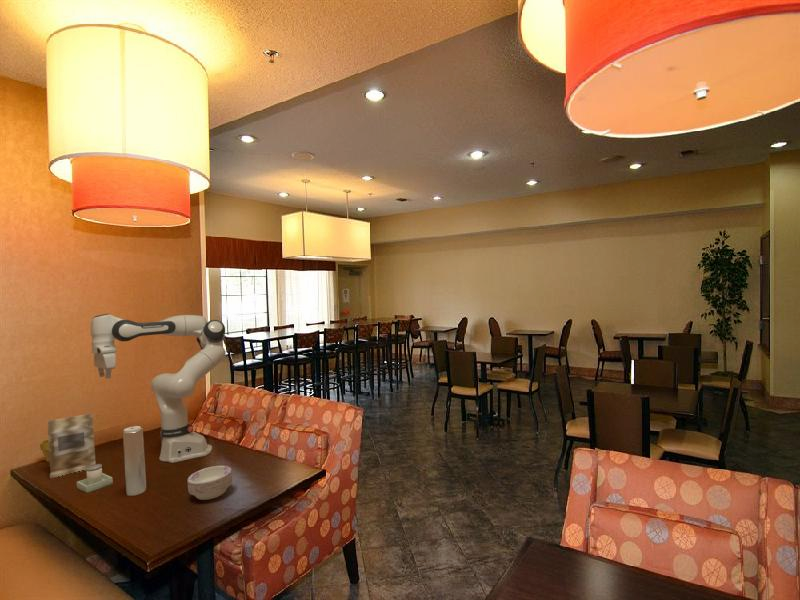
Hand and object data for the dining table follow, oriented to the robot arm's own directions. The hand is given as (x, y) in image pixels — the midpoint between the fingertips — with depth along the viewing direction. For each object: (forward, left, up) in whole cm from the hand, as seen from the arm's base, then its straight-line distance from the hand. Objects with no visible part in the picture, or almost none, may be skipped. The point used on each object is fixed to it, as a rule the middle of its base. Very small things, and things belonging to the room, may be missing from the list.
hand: (105, 377), depth 197 cm
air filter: (-22, +46, -39) cm, 64 cm away
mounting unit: (+12, +7, -39) cm, 41 cm away
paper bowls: (-50, +61, -39) cm, 88 cm away
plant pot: (+26, -12, -39) cm, 49 cm away
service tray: (-4, +32, -39) cm, 51 cm away
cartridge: (-4, +32, -38) cm, 50 cm away
